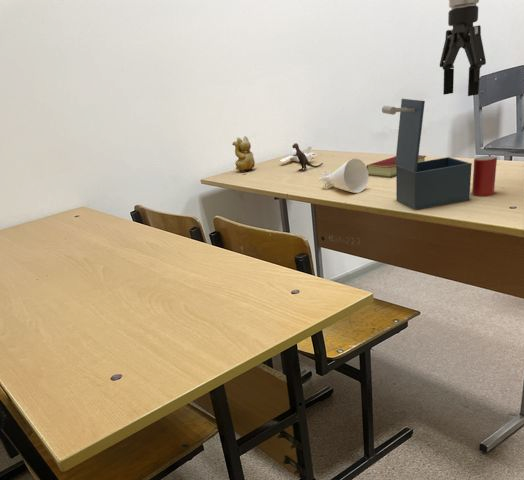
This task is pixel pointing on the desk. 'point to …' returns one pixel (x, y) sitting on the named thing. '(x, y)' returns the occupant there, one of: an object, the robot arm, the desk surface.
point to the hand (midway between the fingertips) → (460, 94)
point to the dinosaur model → (302, 158)
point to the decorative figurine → (243, 155)
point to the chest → (433, 183)
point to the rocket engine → (348, 176)
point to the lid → (408, 132)
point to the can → (484, 175)
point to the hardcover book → (386, 167)
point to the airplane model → (295, 158)
